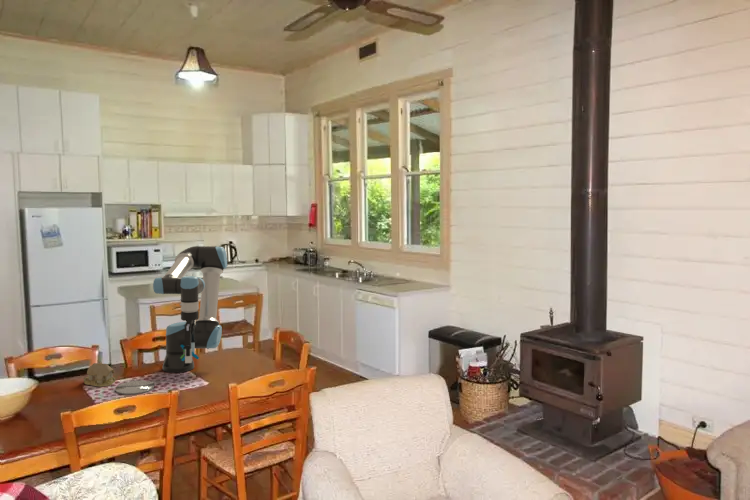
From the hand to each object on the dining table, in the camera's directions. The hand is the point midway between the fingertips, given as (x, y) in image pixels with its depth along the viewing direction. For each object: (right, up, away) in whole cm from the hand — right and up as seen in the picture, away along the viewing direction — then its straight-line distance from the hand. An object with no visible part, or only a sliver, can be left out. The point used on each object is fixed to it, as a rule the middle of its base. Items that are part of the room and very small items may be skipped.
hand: (190, 359), depth 252 cm
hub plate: (-24, -13, -2) cm, 27 cm away
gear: (-1, 0, 0) cm, 1 cm away
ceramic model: (-44, -12, +6) cm, 46 cm away
